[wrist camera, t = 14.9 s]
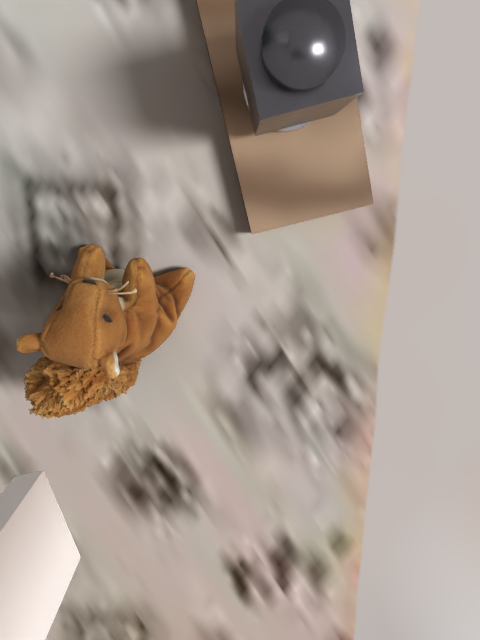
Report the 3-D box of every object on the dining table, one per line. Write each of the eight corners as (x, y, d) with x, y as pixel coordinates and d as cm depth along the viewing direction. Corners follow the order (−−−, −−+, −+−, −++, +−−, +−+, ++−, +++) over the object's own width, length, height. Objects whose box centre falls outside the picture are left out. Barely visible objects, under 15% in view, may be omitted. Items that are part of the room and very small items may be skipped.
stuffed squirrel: (201, 264, 38) (183, 300, 26) (152, 403, 42) (115, 494, 30) (89, 222, 37) (12, 239, 25) (49, 368, 41) (-36, 448, 28)
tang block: (186, -40, 32) (175, -90, 26) (322, -80, 32) (341, -140, 26) (251, 232, 38) (253, 240, 32) (368, 203, 37) (392, 205, 31)
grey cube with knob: (235, 47, 32) (234, -8, 23) (318, 24, 31) (350, -42, 22) (255, 136, 33) (261, 116, 24) (334, 115, 33) (369, 87, 24)
